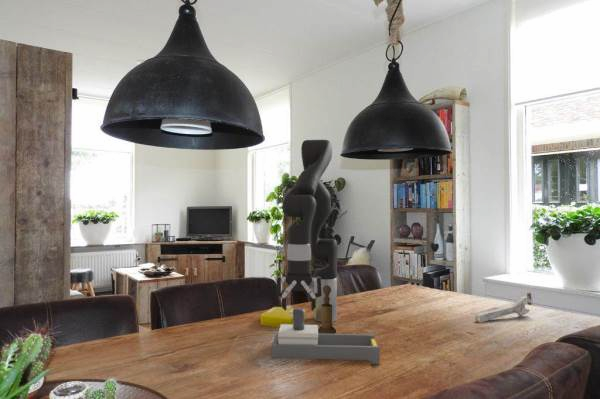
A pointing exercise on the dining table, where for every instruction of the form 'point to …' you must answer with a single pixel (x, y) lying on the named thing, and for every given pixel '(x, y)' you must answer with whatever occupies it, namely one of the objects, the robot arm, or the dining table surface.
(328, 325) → the brown wooden tall piece
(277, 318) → the element tile
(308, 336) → the white plate with knob
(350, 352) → the bay
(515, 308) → the wrench
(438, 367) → the dining table surface
